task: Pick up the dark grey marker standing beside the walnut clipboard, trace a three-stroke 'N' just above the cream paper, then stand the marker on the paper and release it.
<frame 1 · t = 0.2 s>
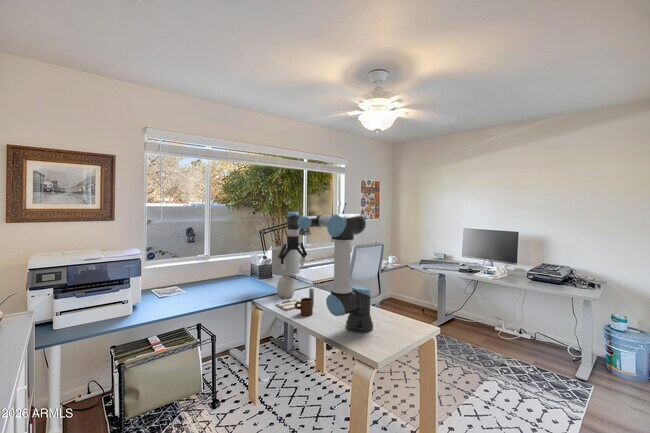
hand: (292, 267, 206), 27 cm above the table, fingers open, 13 cm apart
mug: (303, 315, 196), on the table
clipboard: (290, 305, 212), on the table
lamp: (285, 296, 232), on the table
marker: (311, 306, 211), on the table
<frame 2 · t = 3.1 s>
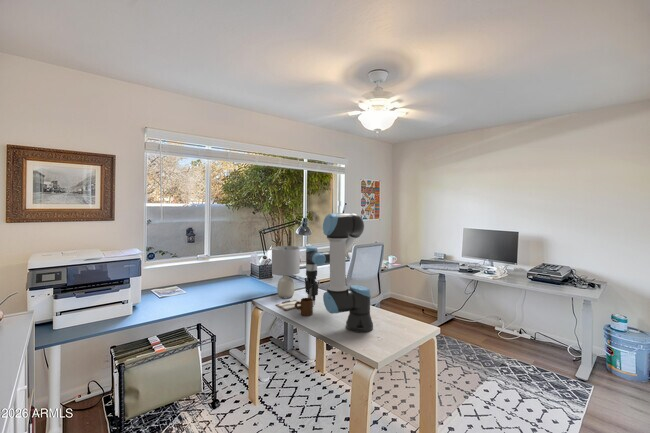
hand: (311, 304, 211), 2 cm above the table, fingers closed on marker, 3 cm apart
marker: (311, 306, 211), on the table, touching gripper
everything else where it was.
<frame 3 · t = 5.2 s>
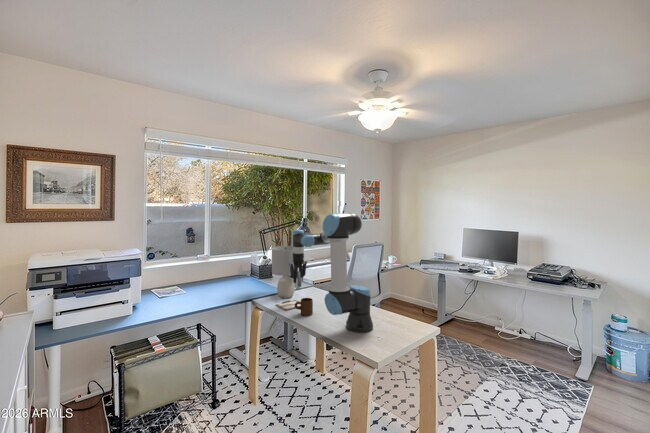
hand: (298, 287, 212), 13 cm above the table, fingers closed on marker, 3 cm apart
marker: (298, 289, 212), point 11 cm above the table, touching gripper
everything else where it was.
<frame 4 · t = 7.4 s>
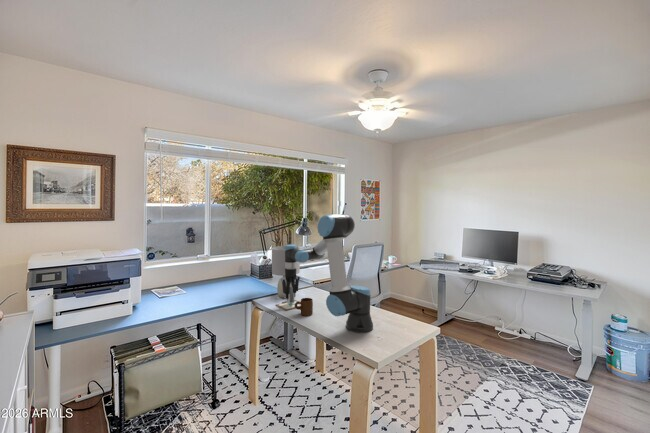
hand: (290, 302, 209), 3 cm above the table, fingers closed on marker, 3 cm apart
marker: (290, 305, 209), point 2 cm above the table, touching gripper
everything else where it was.
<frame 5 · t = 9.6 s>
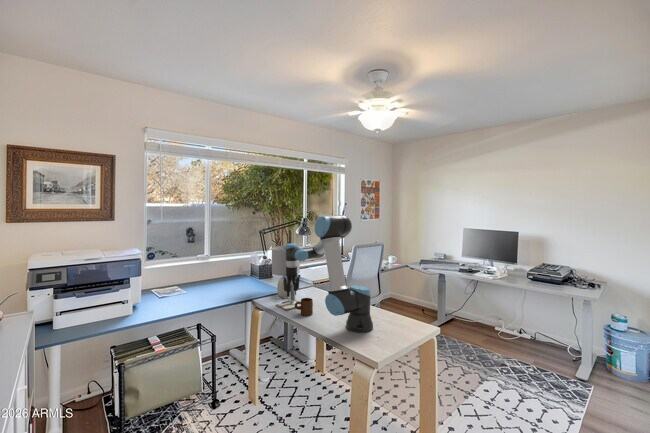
hand: (291, 300, 214), 3 cm above the table, fingers closed on marker, 3 cm apart
marker: (291, 302, 214), point 2 cm above the table, touching gripper
everything else where it was.
when the fingers open (3 cm above the table, at t = 11.7 s): marker stays where it is, resting on clipboard.
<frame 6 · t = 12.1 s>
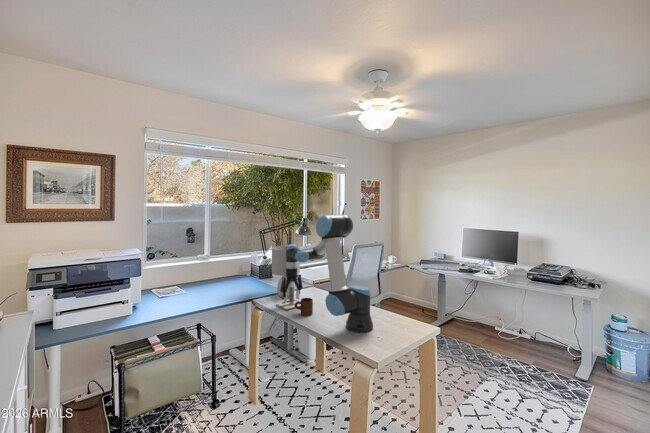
hand: (291, 300, 211), 4 cm above the table, fingers open, 9 cm apart
marker: (291, 304, 212), point 1 cm above the table, touching clipboard
everything else where it was.
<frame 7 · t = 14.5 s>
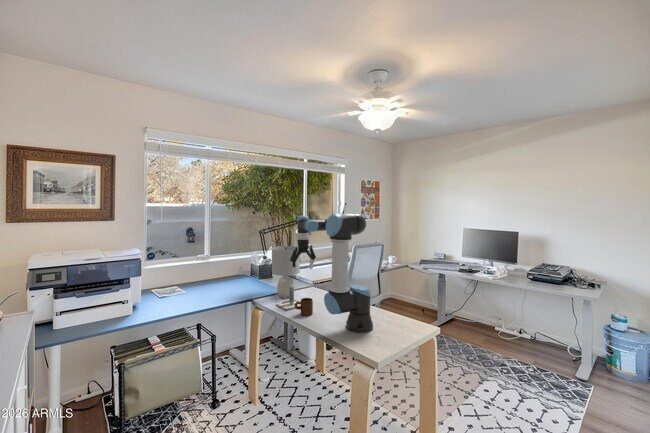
hand: (303, 270, 211), 24 cm above the table, fingers open, 13 cm apart
nothing on the table moved.
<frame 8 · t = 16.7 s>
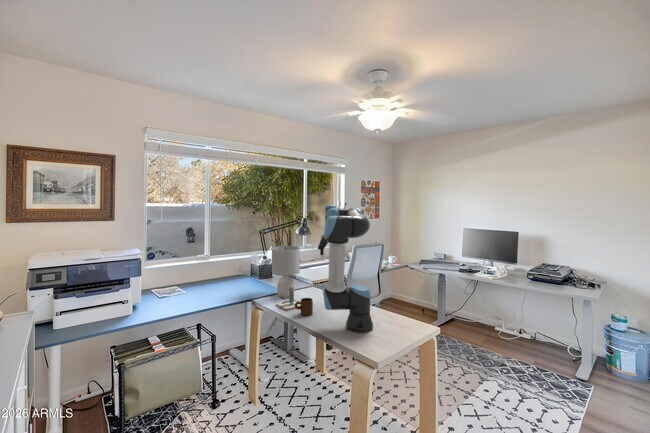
hand: (330, 258, 214), 32 cm above the table, fingers open, 13 cm apart
nothing on the table moved.
at the end: marker inside the target area on the clipboard (1.0 cm from its centre), point 0.8 cm above the clipboard's base; marker tilted 1°; the gripper is holding nothing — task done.
